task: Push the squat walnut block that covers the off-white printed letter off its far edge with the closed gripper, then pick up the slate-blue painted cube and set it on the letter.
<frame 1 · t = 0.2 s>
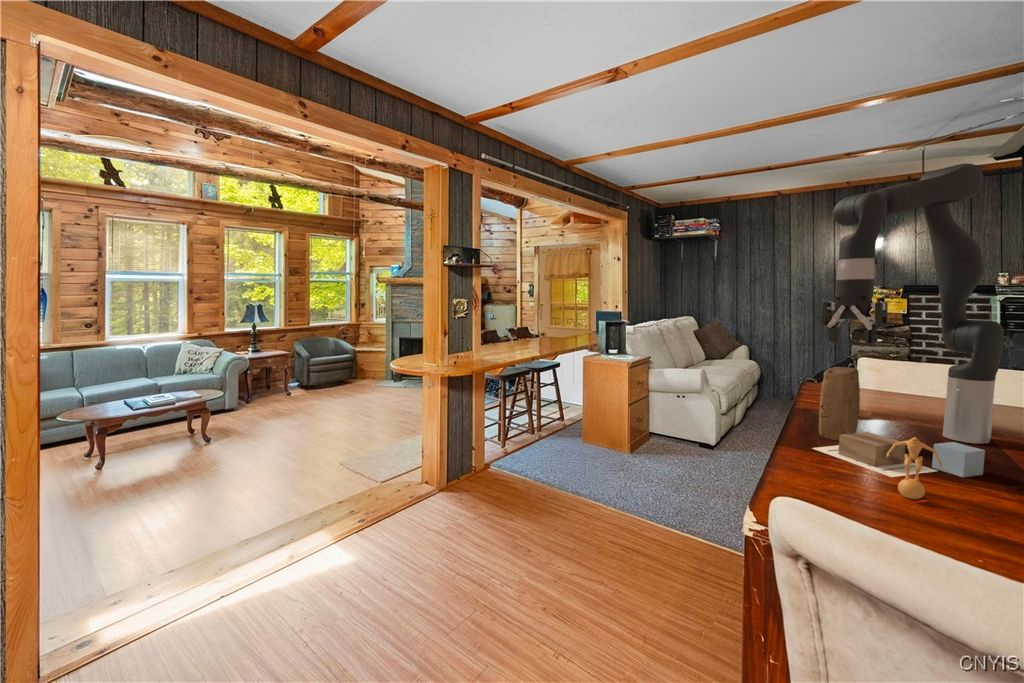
hand: (851, 343, 113), 28 cm above the table, tool pointing down, fingers open, 8 cm apart
figurine: (910, 497, 90), on the table
letter: (870, 459, 111), on the table
block: (837, 438, 129), on the table
slate cube: (956, 472, 103), on the table
walnut block: (870, 458, 111), resting on letter
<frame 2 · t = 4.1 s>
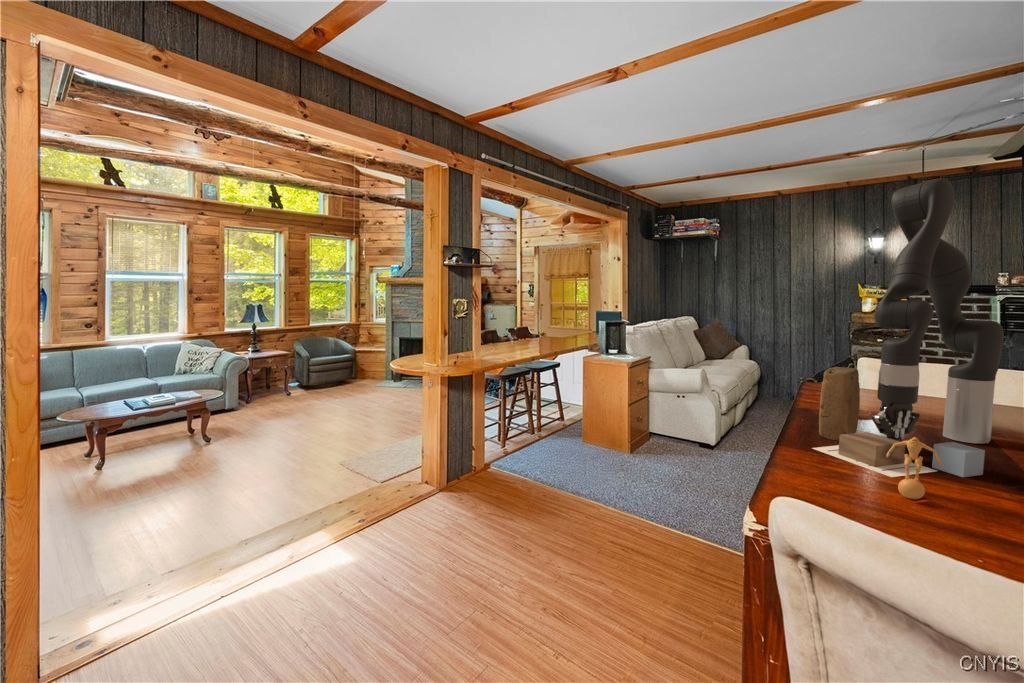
hand: (893, 450, 112), 2 cm above the table, tool pointing down, fingers closed
walnut block: (870, 458, 111), resting on letter, touching gripper
everything else where it was.
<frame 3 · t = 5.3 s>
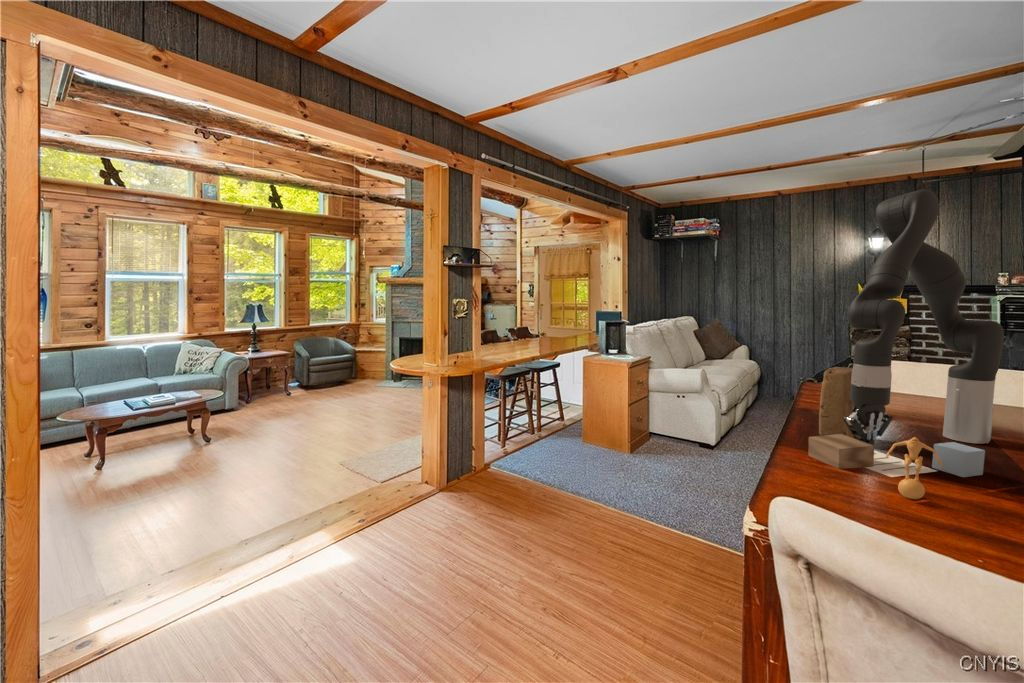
hand: (865, 453, 110), 2 cm above the table, tool pointing down, fingers closed
walnut block: (839, 461, 109), on the table, touching gripper
everything else where it was.
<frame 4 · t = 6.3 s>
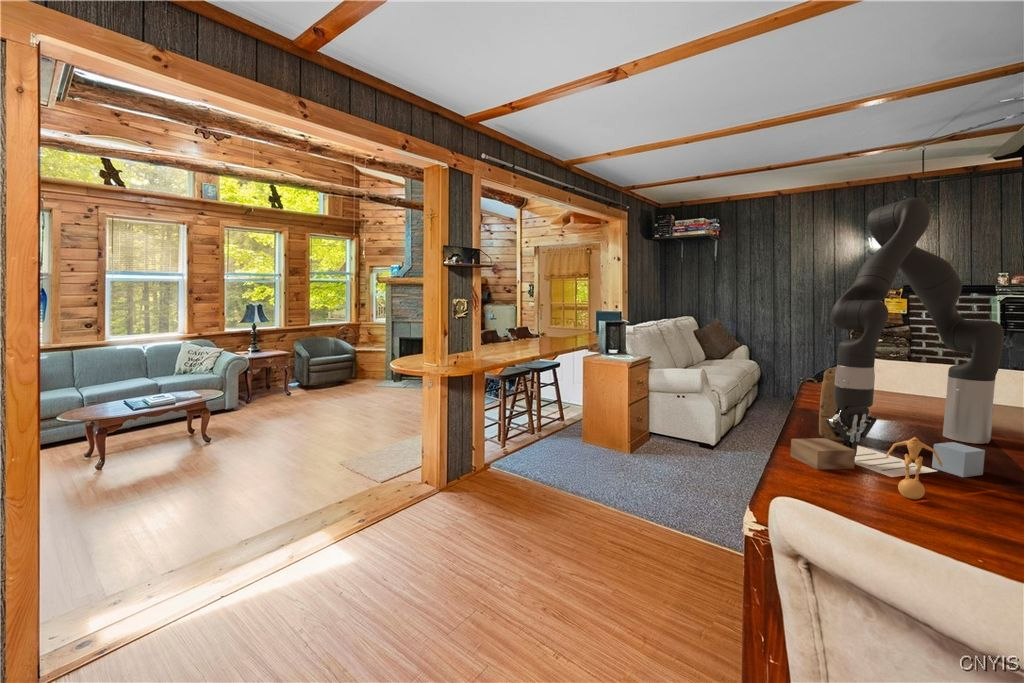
hand: (848, 455, 109), 2 cm above the table, tool pointing down, fingers closed
walnut block: (820, 464, 109), on the table, touching gripper
everything else where it was.
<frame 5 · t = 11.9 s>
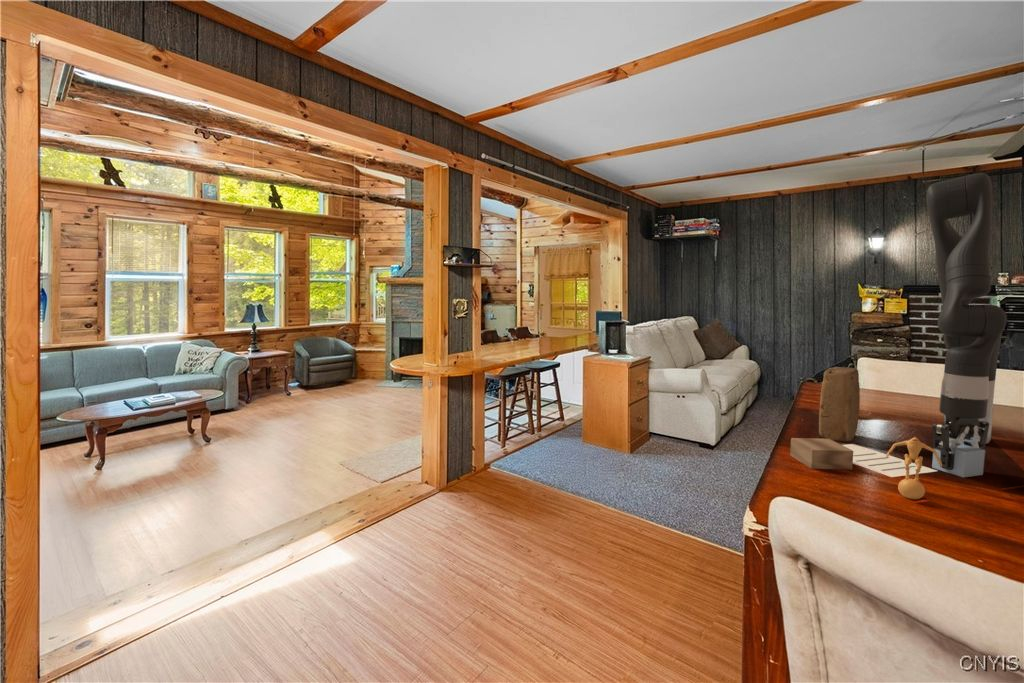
hand: (957, 467, 103), 1 cm above the table, tool pointing down, fingers closed on slate cube, 6 cm apart
slate cube: (956, 472, 103), on the table, touching gripper
walnut block: (819, 464, 109), on the table
everything else where it was.
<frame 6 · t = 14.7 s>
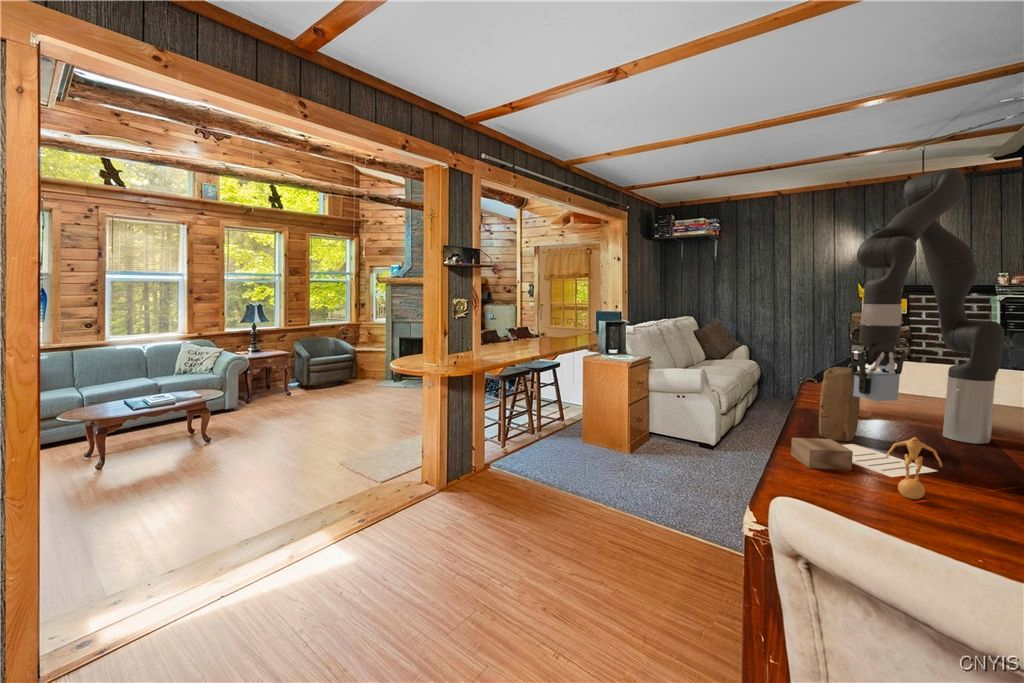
hand: (875, 392, 109), 17 cm above the table, tool pointing down, fingers closed on slate cube, 6 cm apart
slate cube: (875, 397, 109), point 15 cm above the table, touching gripper
everything else where it was.
when the fingers open (3 cm above the table, at t = 17.7 s): slate cube stays where it is, resting on letter.
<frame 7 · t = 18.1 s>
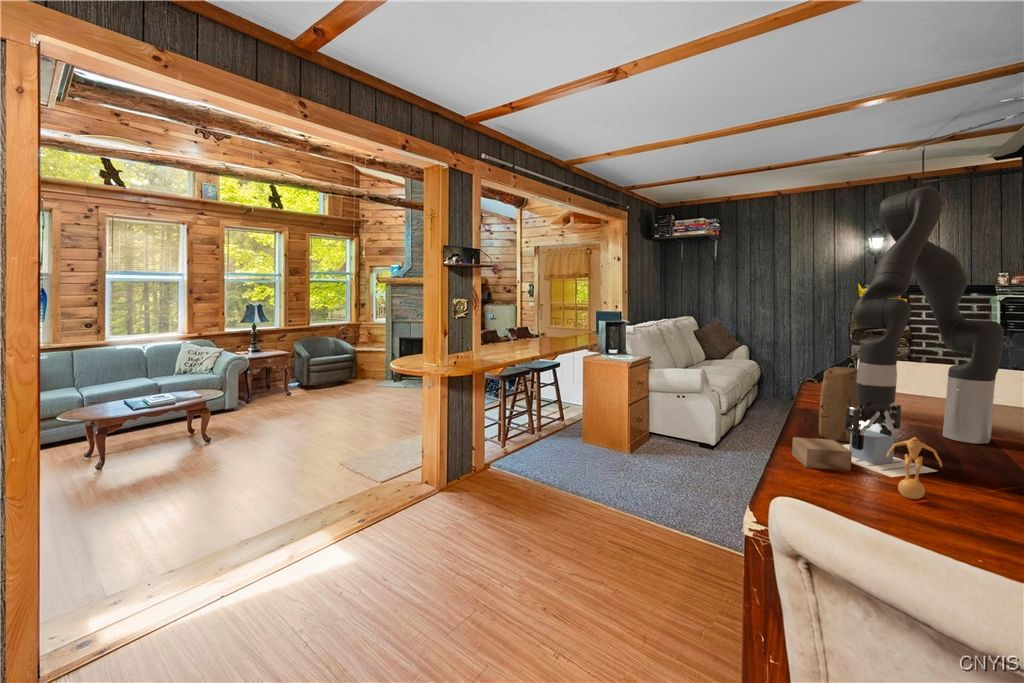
hand: (871, 447, 111), 3 cm above the table, tool pointing down, fingers open, 8 cm apart
slate cube: (870, 458, 111), resting on letter
everything else where it was.
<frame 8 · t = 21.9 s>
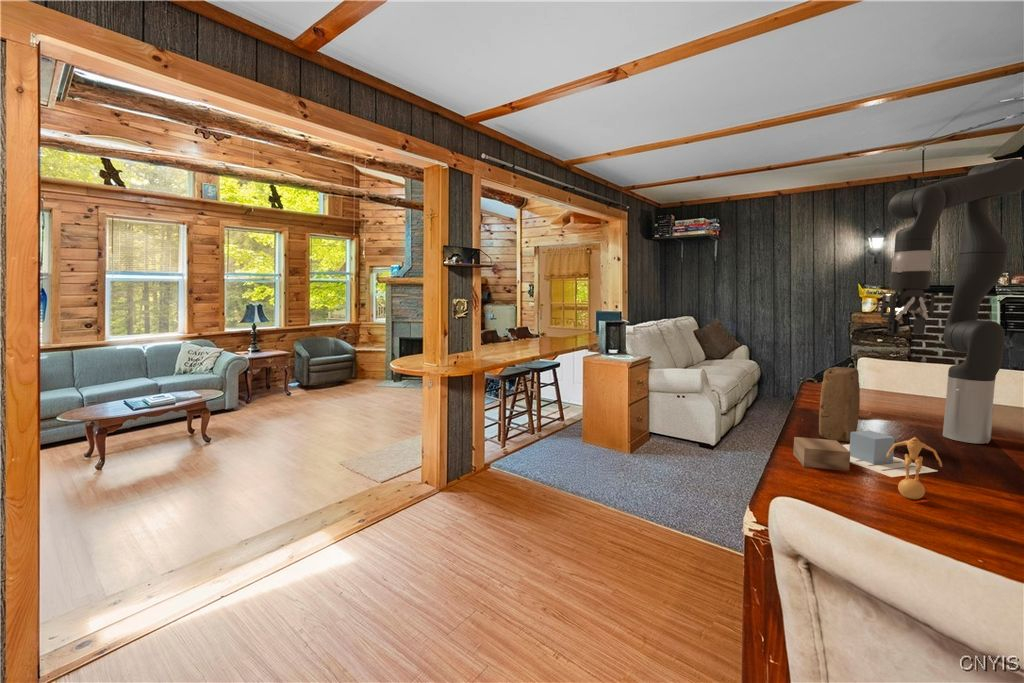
hand: (905, 334, 115), 30 cm above the table, tool pointing down, fingers open, 8 cm apart
nothing on the table moved.
at the end: slate cube inside the target area on the letter (0.0 cm from its centre), point 0.3 cm above the letter's base; walnut block inside the target area (7.8 cm from its centre), on the table; the gripper is holding nothing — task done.
